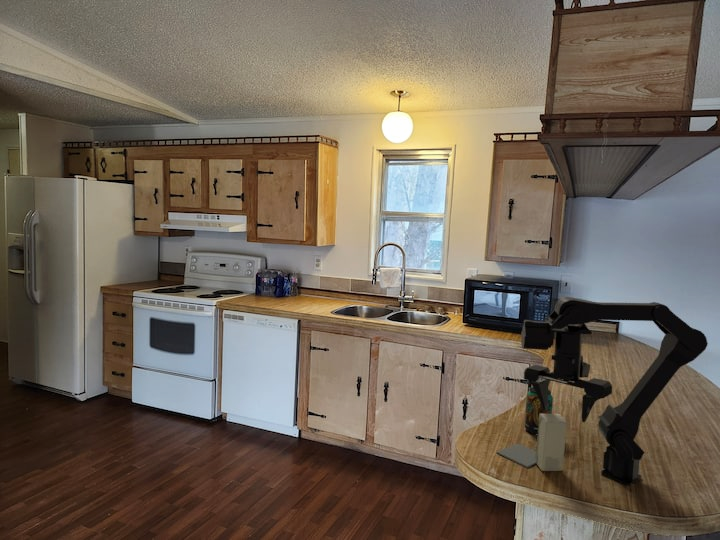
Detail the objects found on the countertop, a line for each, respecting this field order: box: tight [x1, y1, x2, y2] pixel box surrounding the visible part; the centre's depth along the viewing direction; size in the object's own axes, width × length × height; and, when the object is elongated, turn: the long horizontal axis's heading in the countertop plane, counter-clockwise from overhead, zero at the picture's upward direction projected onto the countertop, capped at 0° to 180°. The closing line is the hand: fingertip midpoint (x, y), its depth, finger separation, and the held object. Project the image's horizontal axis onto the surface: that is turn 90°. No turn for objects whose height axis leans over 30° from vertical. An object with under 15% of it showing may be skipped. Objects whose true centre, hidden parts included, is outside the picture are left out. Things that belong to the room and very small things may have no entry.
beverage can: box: [524, 386, 554, 436], centre depth 136 cm, size 7×7×12 cm
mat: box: [496, 443, 537, 469], centre depth 120 cm, size 9×9×1 cm
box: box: [535, 413, 568, 472], centre depth 113 cm, size 5×4×13 cm
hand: (564, 415), depth 113 cm, fingers open, 9 cm apart
